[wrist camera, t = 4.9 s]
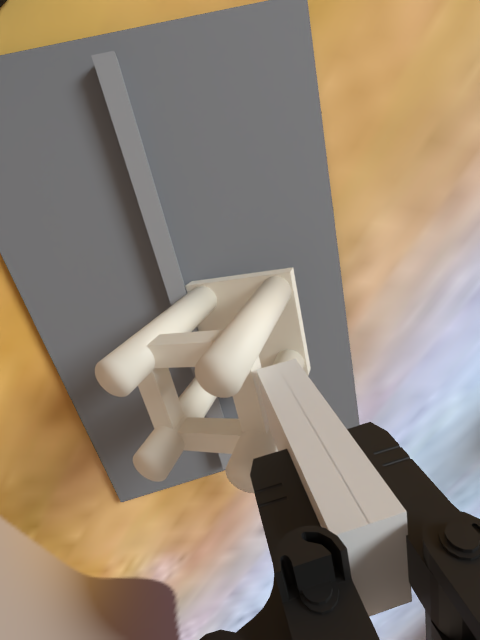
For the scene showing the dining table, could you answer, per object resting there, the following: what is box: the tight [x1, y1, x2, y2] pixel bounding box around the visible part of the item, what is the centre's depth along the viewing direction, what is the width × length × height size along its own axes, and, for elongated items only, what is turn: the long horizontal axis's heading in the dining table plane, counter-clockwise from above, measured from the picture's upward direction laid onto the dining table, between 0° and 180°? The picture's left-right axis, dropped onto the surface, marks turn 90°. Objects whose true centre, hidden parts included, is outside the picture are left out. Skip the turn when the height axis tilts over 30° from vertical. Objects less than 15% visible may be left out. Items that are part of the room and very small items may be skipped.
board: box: [0, 0, 359, 502], centre depth 20 cm, size 26×18×1 cm
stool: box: [95, 267, 311, 493], centre depth 16 cm, size 6×6×9 cm
